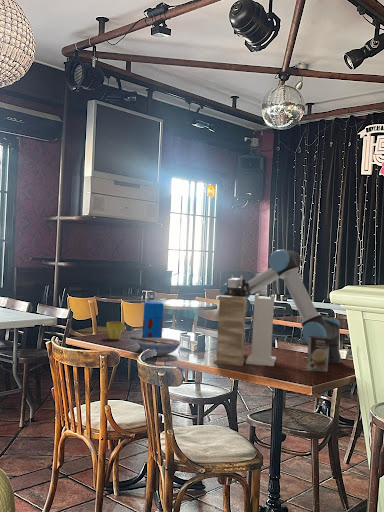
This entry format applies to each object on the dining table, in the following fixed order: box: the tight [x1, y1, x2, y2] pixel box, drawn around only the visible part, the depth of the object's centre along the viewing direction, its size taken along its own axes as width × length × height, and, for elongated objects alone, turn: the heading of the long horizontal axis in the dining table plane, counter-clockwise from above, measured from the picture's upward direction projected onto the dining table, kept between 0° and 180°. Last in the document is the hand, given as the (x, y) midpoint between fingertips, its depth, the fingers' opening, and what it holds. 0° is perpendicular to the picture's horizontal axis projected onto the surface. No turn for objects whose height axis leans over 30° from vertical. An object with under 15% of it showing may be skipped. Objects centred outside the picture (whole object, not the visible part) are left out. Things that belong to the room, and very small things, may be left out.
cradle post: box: [245, 293, 277, 367], centre depth 292 cm, size 20×14×34 cm
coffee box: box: [305, 336, 330, 373], centre depth 277 cm, size 9×6×16 cm
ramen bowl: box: [130, 337, 181, 357], centre depth 294 cm, size 25×23×8 cm
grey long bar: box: [227, 277, 241, 288], centre depth 289 cm, size 28×4×4 cm, turn 169°
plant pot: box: [106, 321, 125, 340], centre depth 342 cm, size 10×10×10 cm
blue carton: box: [141, 301, 164, 338], centre depth 317 cm, size 11×11×25 cm
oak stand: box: [213, 295, 247, 367], centre depth 285 cm, size 14×14×33 cm
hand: (236, 277), depth 294 cm, fingers closed on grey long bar, 4 cm apart
